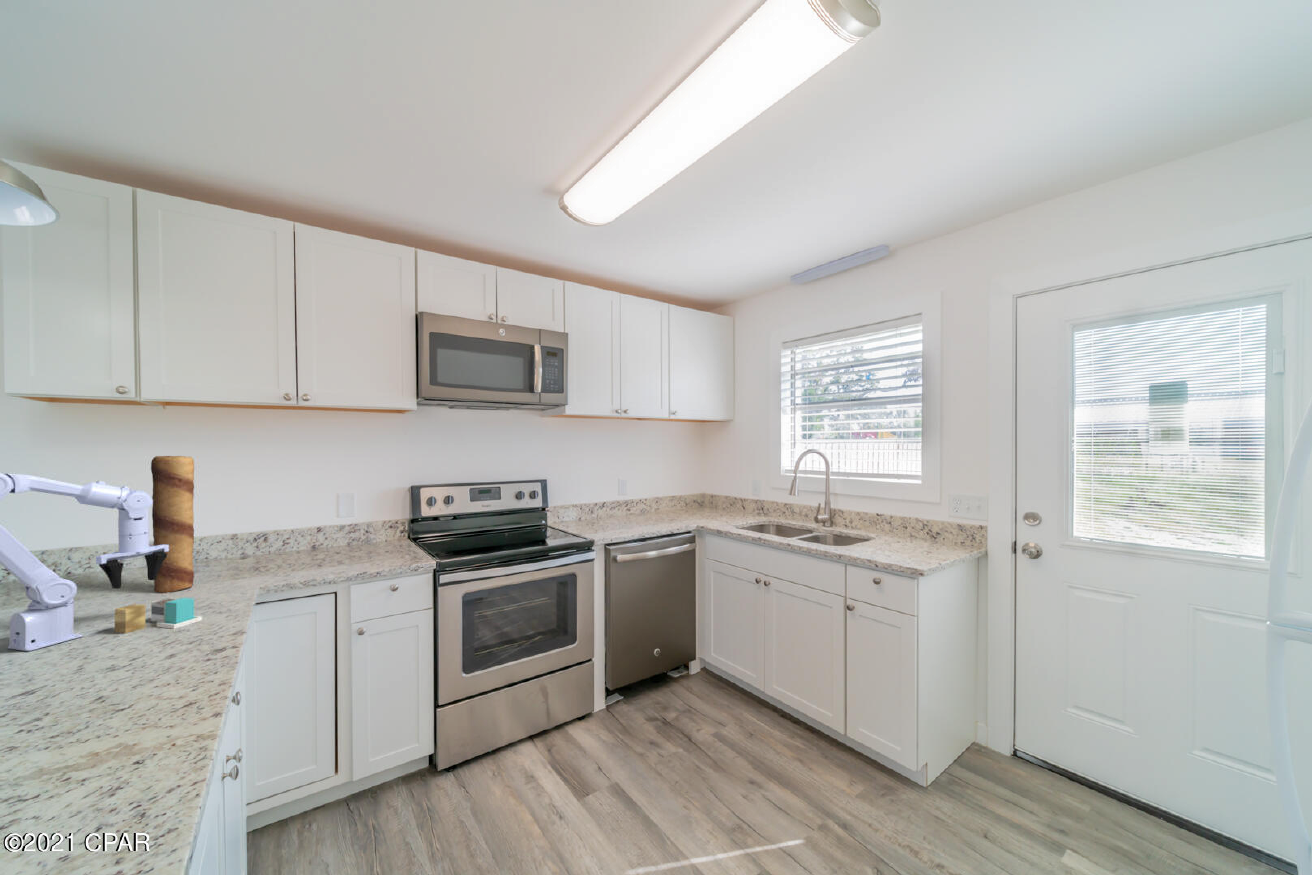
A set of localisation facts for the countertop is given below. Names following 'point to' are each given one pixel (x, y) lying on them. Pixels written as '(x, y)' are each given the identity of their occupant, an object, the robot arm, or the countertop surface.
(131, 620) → the ochre block
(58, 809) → the countertop surface
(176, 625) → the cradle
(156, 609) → the block
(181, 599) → the teal block
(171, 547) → the brown striped cylinder
